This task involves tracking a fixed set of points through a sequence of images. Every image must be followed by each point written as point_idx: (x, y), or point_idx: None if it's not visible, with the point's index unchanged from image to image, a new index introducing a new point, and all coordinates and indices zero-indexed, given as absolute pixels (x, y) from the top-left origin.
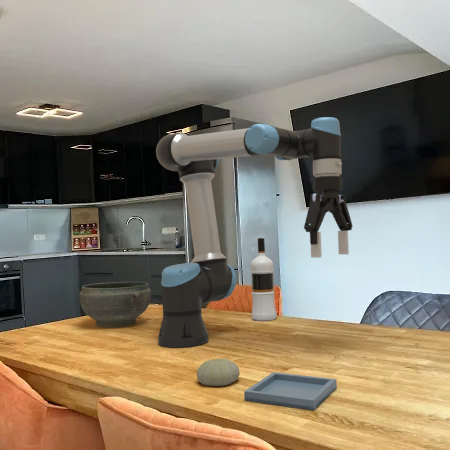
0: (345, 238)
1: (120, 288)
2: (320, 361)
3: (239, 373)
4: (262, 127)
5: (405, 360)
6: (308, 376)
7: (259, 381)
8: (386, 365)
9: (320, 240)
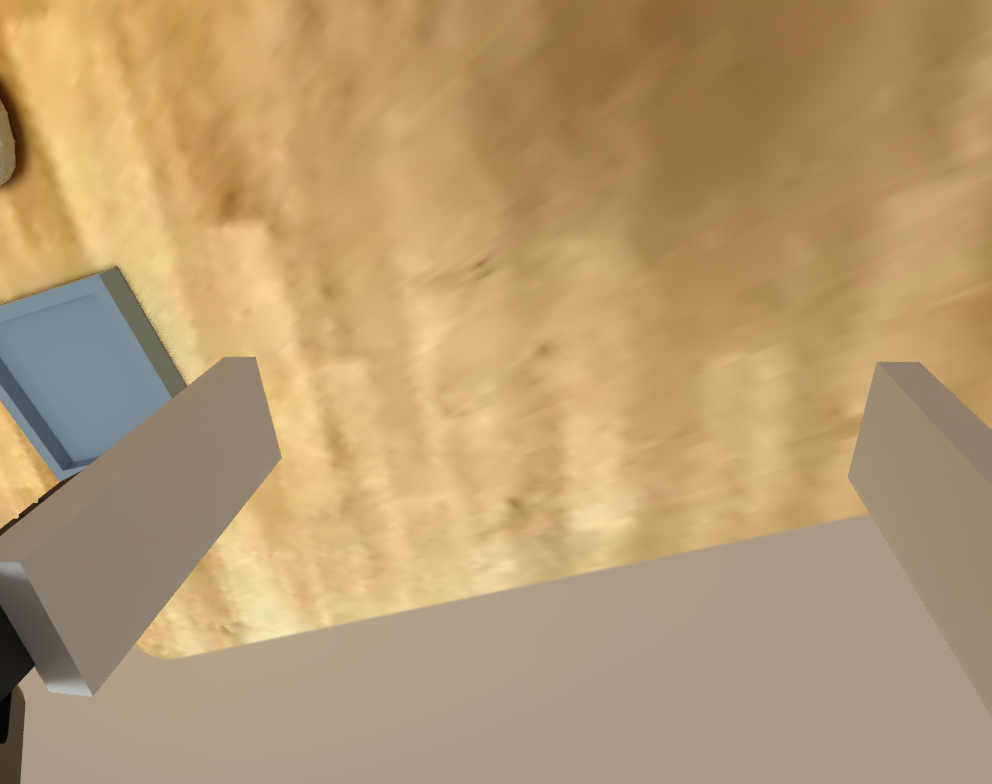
0: (960, 628)
1: None
2: (390, 253)
3: (2, 183)
4: None
5: (585, 474)
6: (159, 383)
7: (17, 301)
8: (492, 451)
9: (165, 589)
